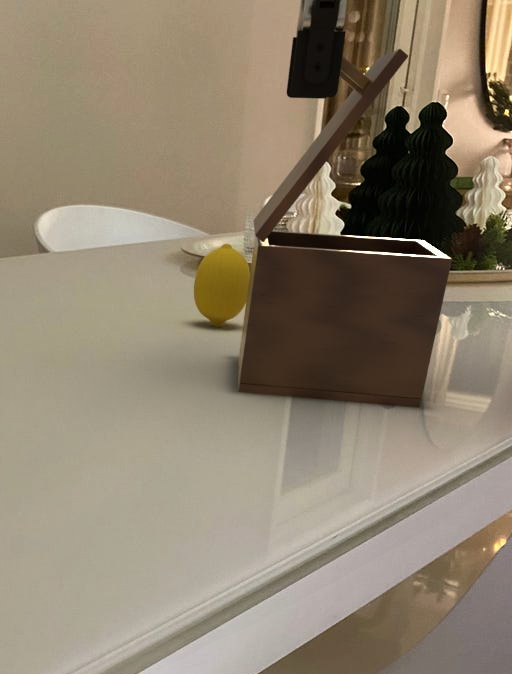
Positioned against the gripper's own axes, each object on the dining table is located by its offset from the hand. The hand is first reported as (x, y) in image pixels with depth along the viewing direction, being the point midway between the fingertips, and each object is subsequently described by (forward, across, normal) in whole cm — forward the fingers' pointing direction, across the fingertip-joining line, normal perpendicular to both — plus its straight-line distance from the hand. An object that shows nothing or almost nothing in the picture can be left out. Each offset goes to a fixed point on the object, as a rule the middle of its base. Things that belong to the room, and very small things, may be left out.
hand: (310, 94), depth 76 cm
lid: (+4, 0, -2) cm, 4 cm away
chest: (+21, 0, -4) cm, 21 cm away
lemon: (+21, +22, +5) cm, 31 cm away
